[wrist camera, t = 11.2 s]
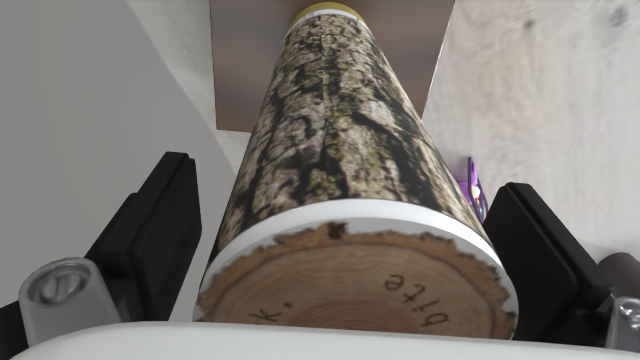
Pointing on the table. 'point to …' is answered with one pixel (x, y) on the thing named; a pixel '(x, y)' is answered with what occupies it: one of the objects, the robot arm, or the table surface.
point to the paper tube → (350, 205)
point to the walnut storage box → (269, 32)
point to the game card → (474, 193)
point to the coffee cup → (622, 274)
